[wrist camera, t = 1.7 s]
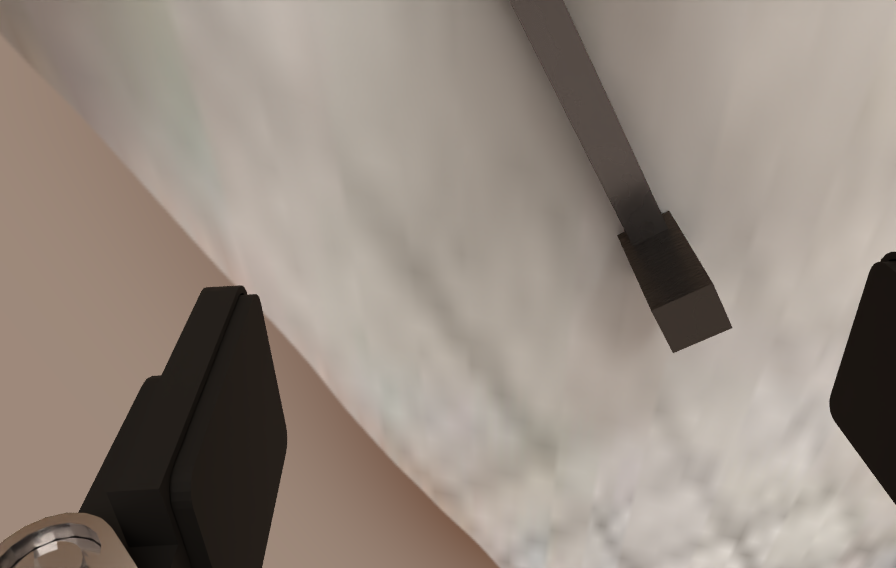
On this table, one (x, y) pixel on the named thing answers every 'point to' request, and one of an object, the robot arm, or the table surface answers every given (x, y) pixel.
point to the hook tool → (625, 183)
